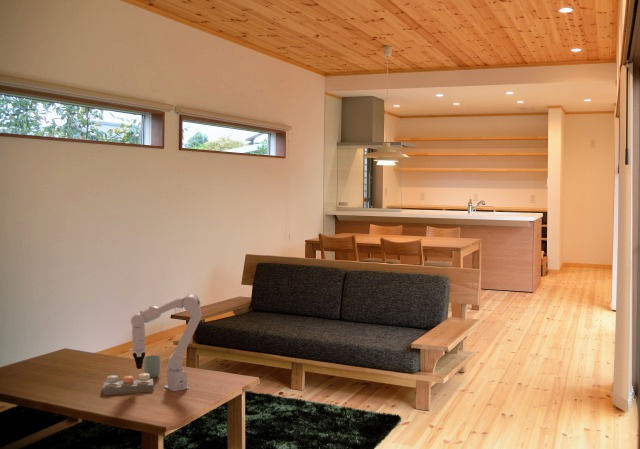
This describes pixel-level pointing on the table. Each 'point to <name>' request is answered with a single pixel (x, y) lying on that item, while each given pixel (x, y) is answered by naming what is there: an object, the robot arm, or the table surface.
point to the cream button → (144, 377)
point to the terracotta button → (128, 379)
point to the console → (127, 387)
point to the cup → (152, 365)
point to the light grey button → (112, 379)
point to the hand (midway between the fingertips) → (139, 368)
